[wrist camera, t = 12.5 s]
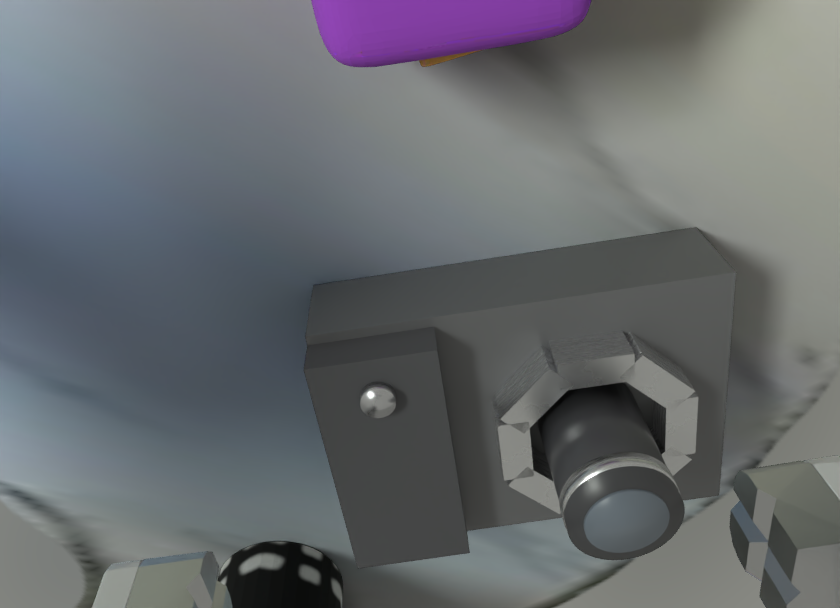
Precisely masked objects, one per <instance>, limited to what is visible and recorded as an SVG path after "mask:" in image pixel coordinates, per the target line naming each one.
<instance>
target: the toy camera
mask: <svg viewBox="0 0 840 608" xmlns="http://www.w3.org/2000/svg"><path fill="white" fill-rule="evenodd" d="M311 1H312V5H313V9H314V14H315V18H316V21H317V25H318V28H319V31H320V35H321V37H322V39H323V42H324V44H325V46H326V48H327V50H328V51H329V52H330V54H331V55H332V56H333V57H334V58H335V59H336V60H337V61H339V62H340V63H342V64H345V65H348V66H353V67H377V66H384V65H391V64H397V63H404V62H411V61H418V60H419V61H420V64H421V66H423V67H426V66H431V65H434V64H438V63H441V62H445V61H448V60H452V59H455V58H458V57H461V56H465V55H468V54H471V53H474V52H478V51H481V50H484V49H490V48H496V47H502V46H508V45H514V44H519V43H524V42H530V41H535V40H540V39H545V38H549V37H553V36H556V35H559V34H562V33H564V32H567V31H569V30H571V29H573V28H574V27H576V26H577V25H578V24H580V23H581V22H582V21H583V19H584V18H585V16H586V14H587V12H588V10H589V7H590V3H591V0H311Z"/></svg>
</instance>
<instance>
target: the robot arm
mask: <svg viewBox="0 0 840 608" xmlns="http://www.w3.org/2000/svg"><path fill="white" fill-rule="evenodd" d="M734 491H735V493H736V494H737V496H738V498H739V499H740V501H739V502H738V503H737V504H736V505H735V506H734V507H733V508H732V510H731V515H730V531H731V536H732V542H733V546H734V548H735V550H736V553H737V556H738V558H739V560H740V562H741V564H742V565H743V567H744V569H745V571H746V572H747V573H749V574H751V575H752V576H754V577H755V578H757V579H758V580H760V581H762V583H761V589H760V598H761V600H762V601H763V603H764V605H765V607H766V608H840V456H838V455H835V456H829V457H822V458H816V459H809V460H804V461H796V462H790V463H784V464H777V465H771V466H765V467H759V468H752V469H746V470H740V471H739V472H738V473H737V475H736V477H735V482H734ZM218 570H219V566H218V563H217V561H216V559H215V556H214V554H213V552H208V551H206V552H198V553H190V554H182V555H174V556H166V557H158V558H150V559H144V560H138V561H130V562H123V563H115V564H112V565H111V566H110V567H109V568H108V569H107V571H106V572H105V573H104V576H103V578H102V581H101V584H100V587H99V590H98V593H97V595H96V598H95V601H94V604H93V607H92V608H233V607H232V602H231V597H230V594H229V592H228V589H227V586H225V585H224V584H222V583H220V582H219V581H217V575H218Z"/></svg>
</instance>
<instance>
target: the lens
mask: <svg viewBox="0 0 840 608" xmlns="http://www.w3.org/2000/svg"><path fill="white" fill-rule="evenodd" d="M537 424H538V428H539V432H540V435H541V439H542V442H543V446H544V450H545V453H546V457H547V460H548V464H549V467H550V471H551V474H552V478H553V482H554V485H555V489H556V492H557V496H558V499H559V506H560V511H561V514H562V518H563V521H564V525H565V527H566V529H567V531H568V535H569V537H570V539H571V541H572V543H573V544H574V545H575V546H576V547H577V548H578V549H579V550H581V551H582V552H584V553H585V554H588V555H590V556H593V557H596V558H600V559H606V560H624V559H630V558H635V557H639V556H642V555H644V554H647V553H649V552H652V551H653V550H655V549H657V548H659V547H661V546H662V545H663V544H665V543H666V542H667V541H668V540H670V539H671V538H672V537H673V536H674V534H675V533H676V532H677V530H678V529H679V527H680V525H681V524H682V521H683V518H684V503H683V500H682V498H681V495H680V491H679V489H678V486H677V484H676V482H675V480H674V478H673V476H672V474H671V472H670V470H669V469H668V468H667V466H666V464H665V462H664V459H663V457H662V455H661V453H660V451H659V449H658V447H657V445H656V443H655V440H654V438H653V436H652V434H651V432H650V430H649V428H648V426H647V424H646V421H645V419H644V417H643V415H642V413H641V411H640V409H639V407H638V405H637V402H636V400H635V398H634V396H633V394H632V392H631V391H630V389H629V388H628V387H627V386H626V385H625V384H623V383H622V382H621V383H614V384H608V385H601V386H594V387H587V388H580V389H573V390H568V391H567V392H566V393H565V394H564V395H563V396H561V397H560V398H559V399H558V400H557V401H556V402H555V403H554V404H553V405H552V406H551V407H550V408H549V409H548V410H547V411H546V412H545V413H544V414H543V415H542V416H541V417H540V418H539V419H538V420H537Z"/></svg>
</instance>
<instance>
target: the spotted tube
mask: <svg viewBox="0 0 840 608" xmlns="http://www.w3.org/2000/svg"><path fill="white" fill-rule="evenodd" d="M217 581H219V582H220V583H222V584H224V585H225V586H227V589H228V592H229V594H230V597H231V602H232V607H233V608H342V594H343V581H342V576H341V574H340V572H339V570H338V568H337V567H336V565H335V564H334V563H333V562H332V560H330V559H329V558H328V557H327V556H325V555H324V554H323V553H321V552H319V551H317V550H315V549H313V548H310V547H308V546H305V545H302V544H297V543H291V542H277V541H276V542H265V543H260V544H256V545H252V546H249V547H247V548H244V549H242V550H240V551H239V552H237V553H235V554H234V555H232V556H231V557H230V558H229V559H228V560H227V561H226V562H225V563H224V565H223V567H222V568H221V570H220V573H219V576H218V580H217Z"/></svg>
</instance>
